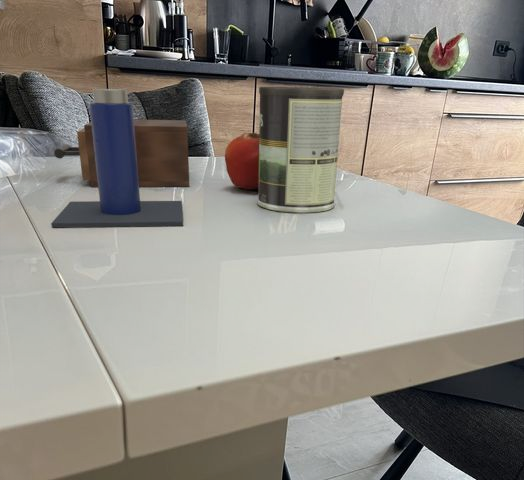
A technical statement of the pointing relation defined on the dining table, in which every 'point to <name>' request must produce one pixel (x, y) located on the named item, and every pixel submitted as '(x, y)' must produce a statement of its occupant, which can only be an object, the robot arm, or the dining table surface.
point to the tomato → (243, 161)
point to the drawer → (77, 153)
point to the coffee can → (298, 148)
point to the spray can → (115, 151)
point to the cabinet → (153, 153)
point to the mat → (93, 217)
